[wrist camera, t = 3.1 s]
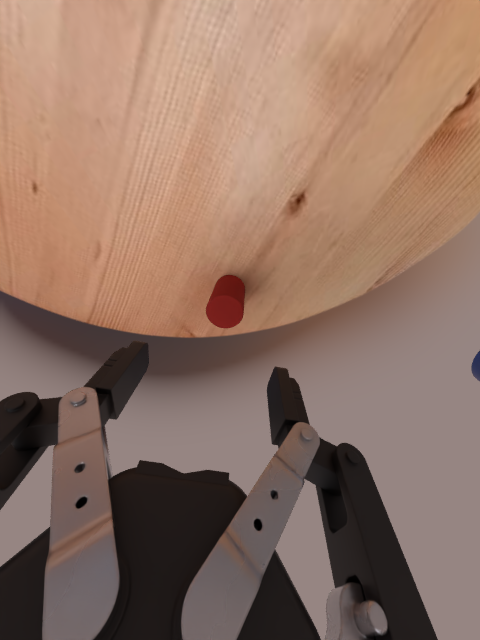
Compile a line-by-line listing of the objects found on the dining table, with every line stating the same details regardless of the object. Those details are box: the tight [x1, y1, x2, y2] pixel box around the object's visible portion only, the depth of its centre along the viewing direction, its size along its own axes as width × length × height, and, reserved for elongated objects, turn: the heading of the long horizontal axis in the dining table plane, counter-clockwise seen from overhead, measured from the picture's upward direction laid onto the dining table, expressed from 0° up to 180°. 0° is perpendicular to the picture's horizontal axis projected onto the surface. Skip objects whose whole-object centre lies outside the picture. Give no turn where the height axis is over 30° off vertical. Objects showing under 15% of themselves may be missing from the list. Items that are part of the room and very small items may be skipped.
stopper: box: [206, 275, 245, 328], centre depth 22 cm, size 4×4×6 cm
